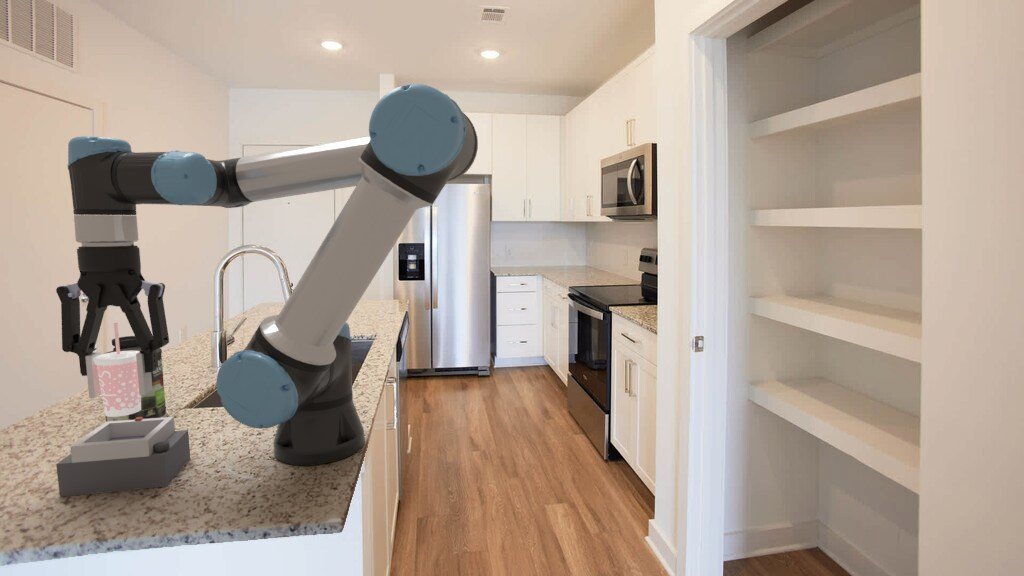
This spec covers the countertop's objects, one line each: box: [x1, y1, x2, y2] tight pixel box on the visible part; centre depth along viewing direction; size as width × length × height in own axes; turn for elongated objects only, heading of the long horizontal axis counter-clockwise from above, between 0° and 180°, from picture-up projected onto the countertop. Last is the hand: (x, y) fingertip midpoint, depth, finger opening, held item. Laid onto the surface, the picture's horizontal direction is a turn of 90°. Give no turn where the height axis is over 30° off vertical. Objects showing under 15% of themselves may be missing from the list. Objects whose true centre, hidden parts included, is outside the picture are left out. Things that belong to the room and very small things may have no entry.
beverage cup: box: [94, 322, 141, 417], centre depth 83 cm, size 6×6×14 cm
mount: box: [55, 416, 191, 498], centre depth 84 cm, size 14×10×8 cm
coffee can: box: [101, 347, 168, 422], centre depth 108 cm, size 10×10×14 cm
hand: (121, 393), depth 83 cm, fingers closed on beverage cup, 6 cm apart
